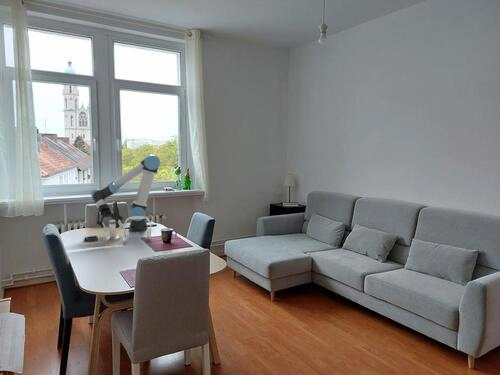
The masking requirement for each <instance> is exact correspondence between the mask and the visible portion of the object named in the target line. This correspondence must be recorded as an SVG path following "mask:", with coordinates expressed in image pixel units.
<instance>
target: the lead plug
mask: <svg viewBox="0 0 500 375" xmlns="http://www.w3.org/2000/svg"><path fill="white" fill-rule="evenodd" d="M116 225H117V224H116V220H115V219H109V220H108V228H109V230H108V231H109V237H110V238H116V236H117V229H116V228H117V227H116Z"/></svg>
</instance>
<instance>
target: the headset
mask: <svg viewBox="0 0 500 375" xmlns="http://www.w3.org/2000/svg"><path fill="white" fill-rule="evenodd" d="M144 218H145V220H146V221H147V222H148V224H149V227H148V228H147V230H146V238H150V239H149V240H151V238H152V222H151V221H150V219H149V218H148V217H146V216H145V217H144V216H134V217H130V216H129V217H128V218H127V219H125V221H124V224H123V228H122V230H123V234H124V235H123V236H124V240H126V239H127V240H128V239H129V238H130V232H129V228H126V224H127V223H128V221H129V220H130V221H131V220H134V219H144Z"/></svg>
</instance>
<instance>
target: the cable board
mask: <svg viewBox="0 0 500 375" xmlns="http://www.w3.org/2000/svg"><path fill="white" fill-rule="evenodd" d="M120 239H123V238H122V236H121V235H116V238H110V236H104V237H102V236H101V237H99V236H98V235H90V236H85V237H84V239H83V240H82V241H83V243H93V242H94V243H95V242H102V241H111V240H120Z"/></svg>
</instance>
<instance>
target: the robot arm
mask: <svg viewBox="0 0 500 375" xmlns="http://www.w3.org/2000/svg"><path fill="white" fill-rule="evenodd" d="M160 165H161V159H160V157H158V156H157V155H155V154H149V155H147V156H146V157H145V158H144V159H142V160H141V161H140V162H139V164H137V165H136V166H134V167H132V168H131V169H130V170H128V171H127V172H126V173H124V174H122V175H121V176H120V177H117V179H115V180H114V181H112V182H111V183H109V184H107V186H105V187H104V188H102V189H99V188H95V189H93V190H92V191H91V192H90V195H91V198H92V200H93V202H94V204H95V206H96V208H97V209H98V211H97V212H96V214H95V215H96V225H99V226H100V228H101V229H103V232H104V233H105V232H106V231H107V227H106V225H105V223H104V222H103V221H104V218H109V217H110V218H113V220H115V221H117V223H118V226H119V227H120V229H122V230H123V227H124V224H123V221H122V220H123V217H122V216H121V215H120V214H119V213H118V212H116V210H115V209H112V210H111V209H110V206H109V205H108V202H107V201H106V199H107V198H109V197H111V196H113V195H115V194H116V193H118V192H119V190H120V189H122V188H123V187H124V186H126V185H127V184H129V183H130V182H132V181H133V180H135V179H136V178H137V177H139V176H141V175H142V176H141V180H140V184H139V186H138V190H137V193H136V197H135V200H133V202H130V205H129V208H130V210H129V217H134V216H144V217H146V212H147V208H148V204H147V201H148V198H149V195H150V192H151V188H152V185H153V180H154V177H155V175H157V173H158V170H159V167H160ZM100 216H101V219H100ZM148 226H149V225H148V224H147V219H146V218H144V219H134V220H131V219H130V223H129V226H128V230H129V231H130V232H143V231H147V228H148Z"/></svg>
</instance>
